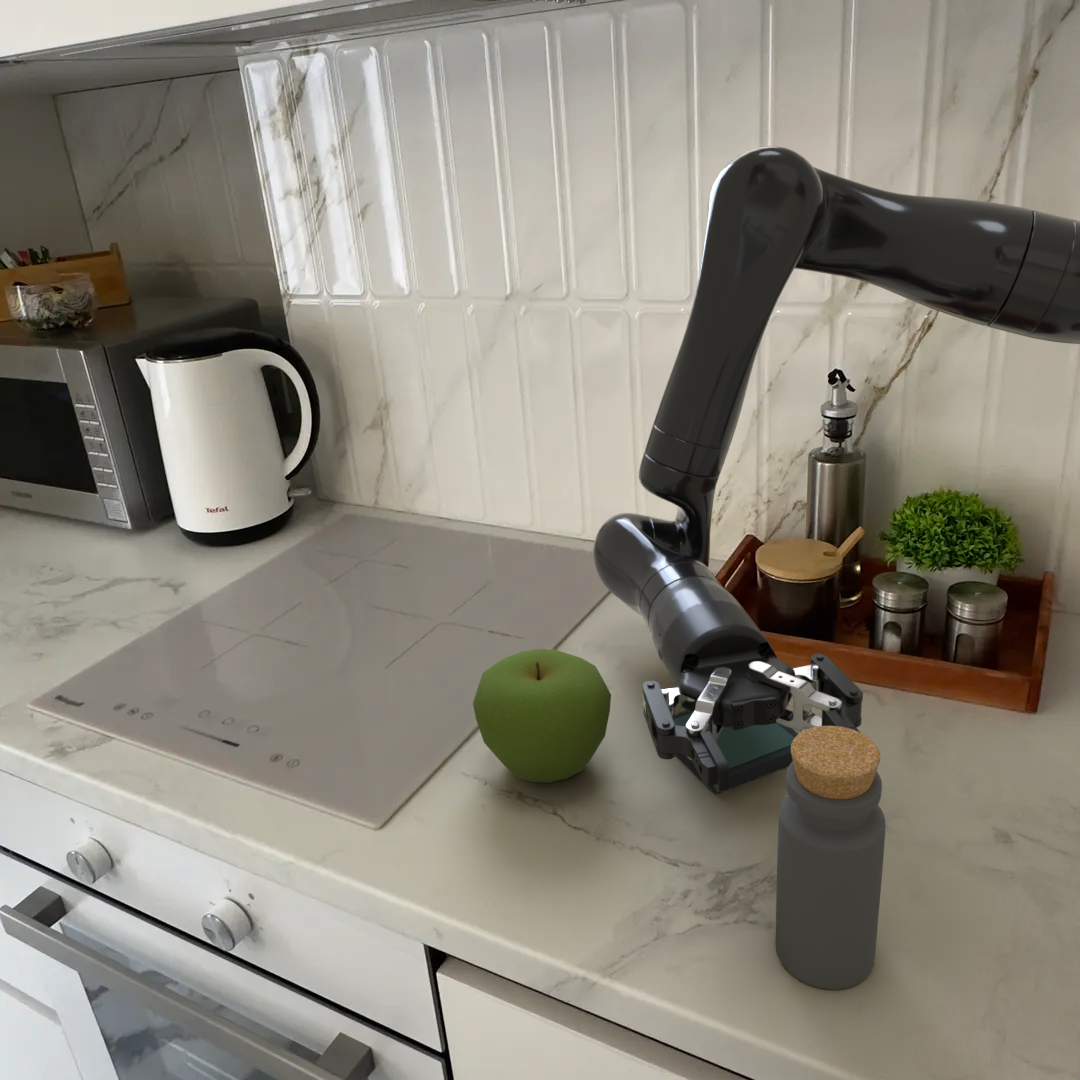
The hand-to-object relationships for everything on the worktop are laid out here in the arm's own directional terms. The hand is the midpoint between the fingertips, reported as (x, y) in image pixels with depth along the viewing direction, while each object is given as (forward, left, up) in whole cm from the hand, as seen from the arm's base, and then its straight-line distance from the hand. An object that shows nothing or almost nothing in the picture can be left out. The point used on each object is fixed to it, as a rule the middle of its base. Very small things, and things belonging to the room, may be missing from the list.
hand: (790, 769), depth 61 cm
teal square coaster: (-6, -15, -10) cm, 18 cm away
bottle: (+1, +5, -10) cm, 11 cm away
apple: (+8, -20, -10) cm, 23 cm away
